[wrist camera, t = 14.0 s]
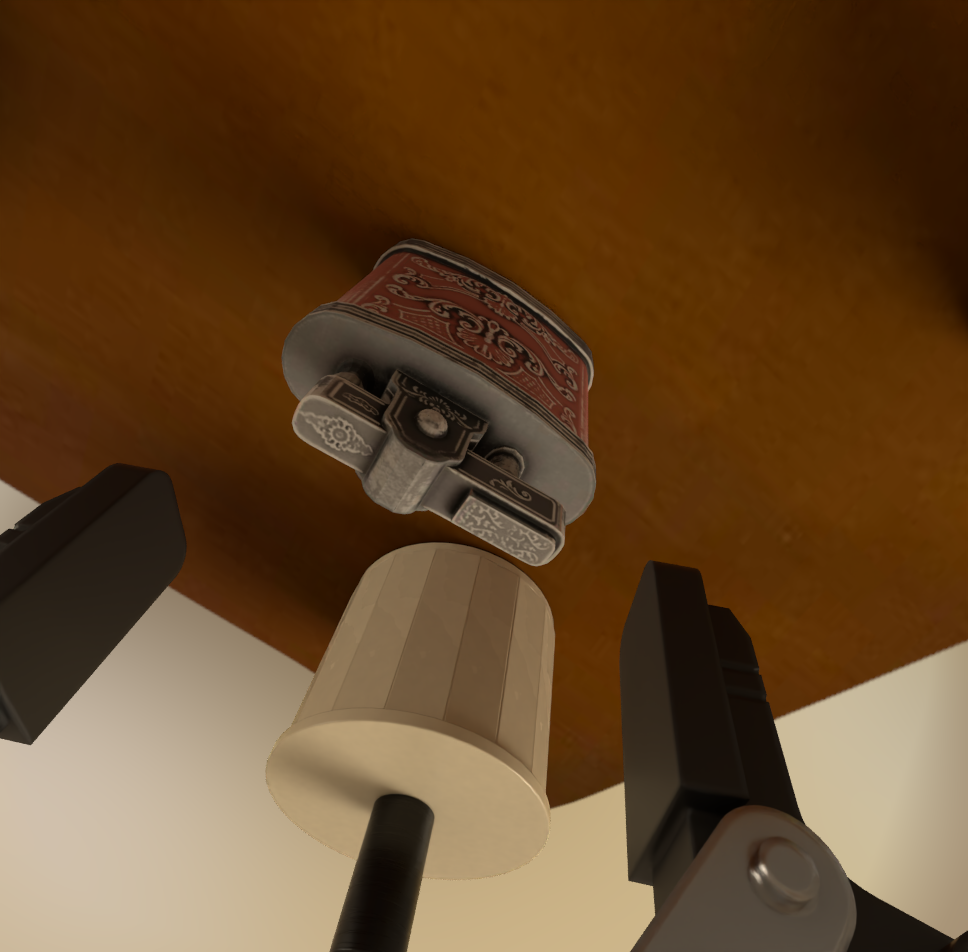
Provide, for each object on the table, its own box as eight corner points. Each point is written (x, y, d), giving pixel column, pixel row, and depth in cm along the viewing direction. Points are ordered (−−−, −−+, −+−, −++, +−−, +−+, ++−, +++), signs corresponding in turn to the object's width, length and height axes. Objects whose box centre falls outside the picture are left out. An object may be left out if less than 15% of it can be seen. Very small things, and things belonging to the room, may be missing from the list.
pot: (571, 563, 25) (565, 747, 18) (536, 700, 31) (521, 882, 24) (353, 524, 26) (266, 688, 19) (357, 665, 31) (290, 833, 24)
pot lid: (576, 726, 18) (572, 939, 14) (528, 871, 24) (514, 1056, 20) (264, 665, 19) (161, 849, 14) (289, 820, 25) (221, 988, 20)
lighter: (362, 303, 20) (205, 451, 12) (403, 212, 18) (253, 312, 10) (558, 421, 22) (539, 627, 13) (615, 347, 20) (634, 532, 11)
